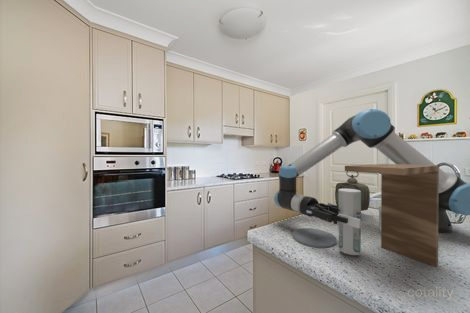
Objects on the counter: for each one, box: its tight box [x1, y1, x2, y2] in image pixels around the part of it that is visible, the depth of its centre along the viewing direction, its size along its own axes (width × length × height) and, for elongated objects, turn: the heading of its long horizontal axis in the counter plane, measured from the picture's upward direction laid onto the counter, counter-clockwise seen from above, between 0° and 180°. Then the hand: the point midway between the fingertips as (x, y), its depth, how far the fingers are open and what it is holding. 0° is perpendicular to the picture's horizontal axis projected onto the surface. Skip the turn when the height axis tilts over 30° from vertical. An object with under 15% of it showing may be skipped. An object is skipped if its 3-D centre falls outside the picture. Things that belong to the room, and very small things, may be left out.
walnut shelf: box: [344, 163, 440, 268], centre depth 58 cm, size 24×14×30 cm, turn 120°
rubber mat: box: [292, 227, 338, 249], centre depth 77 cm, size 16×16×1 cm
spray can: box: [338, 189, 362, 256], centre depth 64 cm, size 6×6×20 cm
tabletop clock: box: [334, 171, 371, 212], centre depth 105 cm, size 14×9×25 cm, turn 23°
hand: (366, 221), depth 60 cm, fingers closed on spray can, 6 cm apart
